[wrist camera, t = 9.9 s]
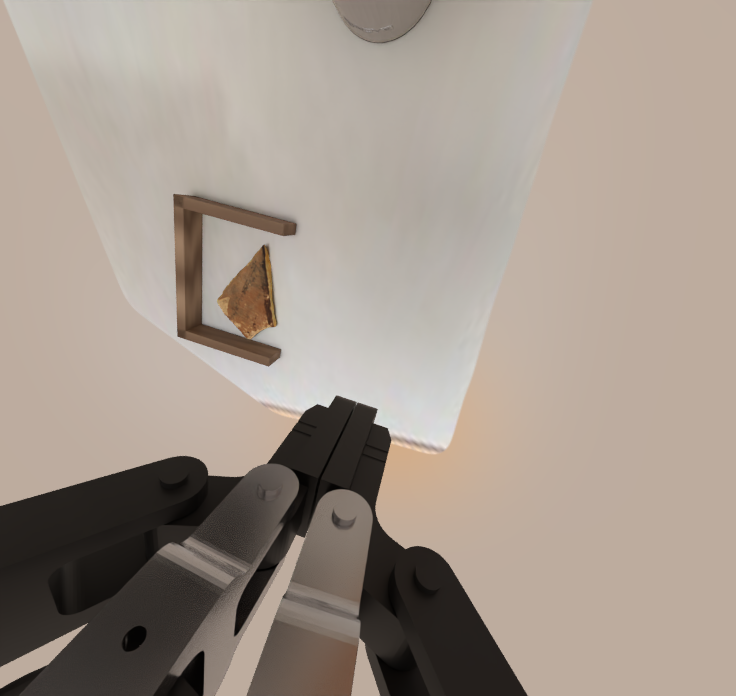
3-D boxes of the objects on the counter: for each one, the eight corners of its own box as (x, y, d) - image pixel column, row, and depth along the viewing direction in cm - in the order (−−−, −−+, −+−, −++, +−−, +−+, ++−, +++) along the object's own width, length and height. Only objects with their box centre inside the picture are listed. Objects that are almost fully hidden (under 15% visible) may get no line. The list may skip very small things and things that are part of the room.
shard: (270, 243, 38) (262, 244, 36) (312, 293, 39) (306, 296, 37) (220, 298, 42) (211, 301, 41) (259, 341, 43) (252, 346, 42)
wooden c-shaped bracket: (193, 195, 37) (173, 194, 35) (296, 223, 36) (284, 224, 33) (193, 329, 45) (177, 336, 42) (279, 357, 43) (268, 366, 40)
